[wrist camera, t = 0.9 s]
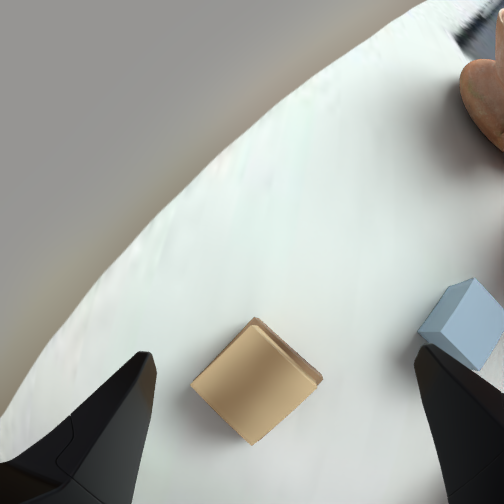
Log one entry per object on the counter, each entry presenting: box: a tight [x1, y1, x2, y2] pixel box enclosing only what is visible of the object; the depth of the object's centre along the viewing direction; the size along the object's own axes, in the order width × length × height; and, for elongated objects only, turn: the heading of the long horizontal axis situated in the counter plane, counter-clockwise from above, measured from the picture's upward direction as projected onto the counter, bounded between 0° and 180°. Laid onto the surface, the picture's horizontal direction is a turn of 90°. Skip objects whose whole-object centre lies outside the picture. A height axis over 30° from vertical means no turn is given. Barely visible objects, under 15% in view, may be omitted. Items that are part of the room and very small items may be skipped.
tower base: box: [193, 317, 323, 441], centre depth 23 cm, size 7×7×3 cm
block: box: [417, 278, 504, 371], centre depth 20 cm, size 5×5×5 cm
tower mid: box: [190, 325, 317, 446], centre depth 20 cm, size 6×6×3 cm
